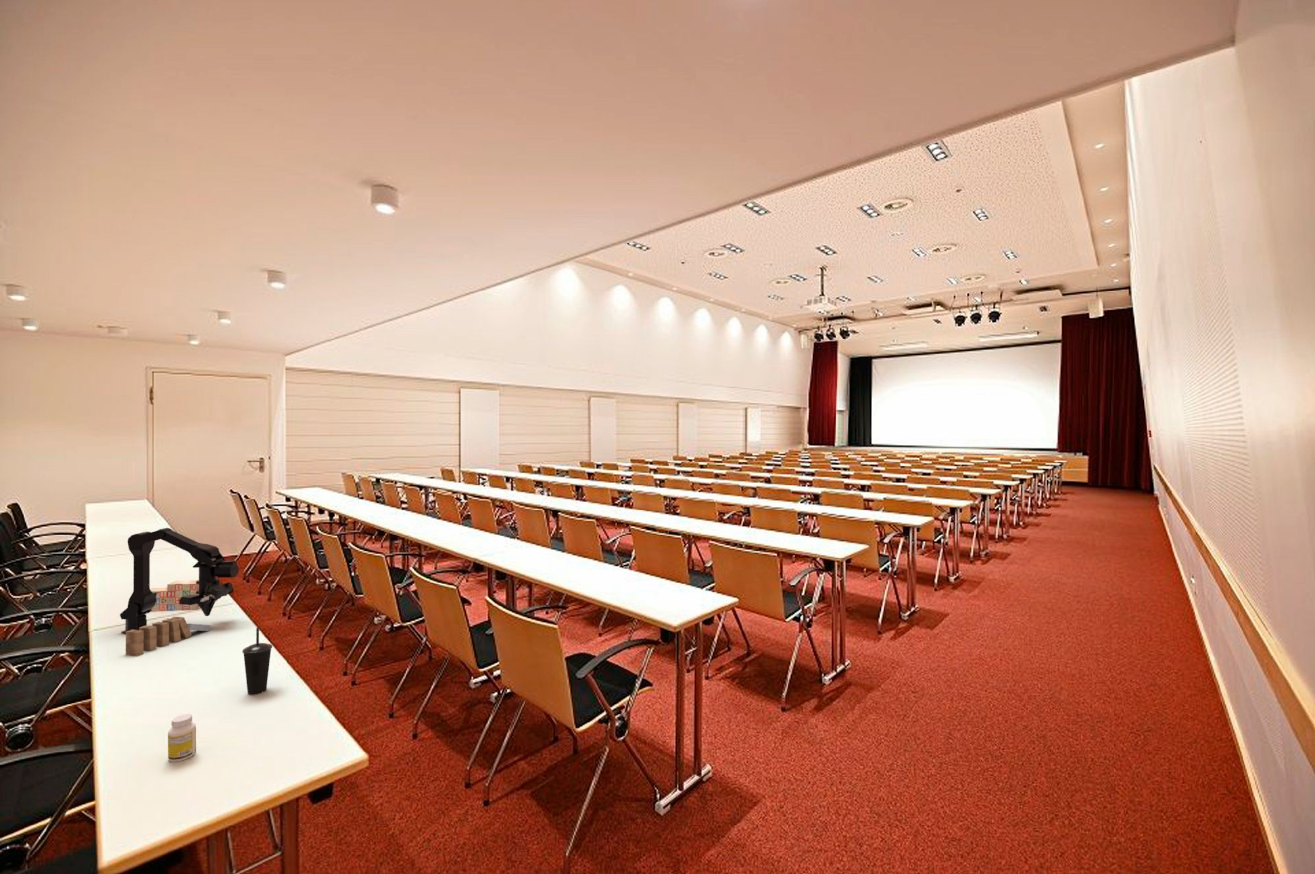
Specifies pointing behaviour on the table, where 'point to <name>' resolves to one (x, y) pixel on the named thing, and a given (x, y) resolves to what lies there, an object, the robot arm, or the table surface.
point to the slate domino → (199, 627)
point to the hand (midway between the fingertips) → (207, 615)
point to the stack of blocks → (175, 596)
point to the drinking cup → (257, 665)
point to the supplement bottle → (181, 738)
